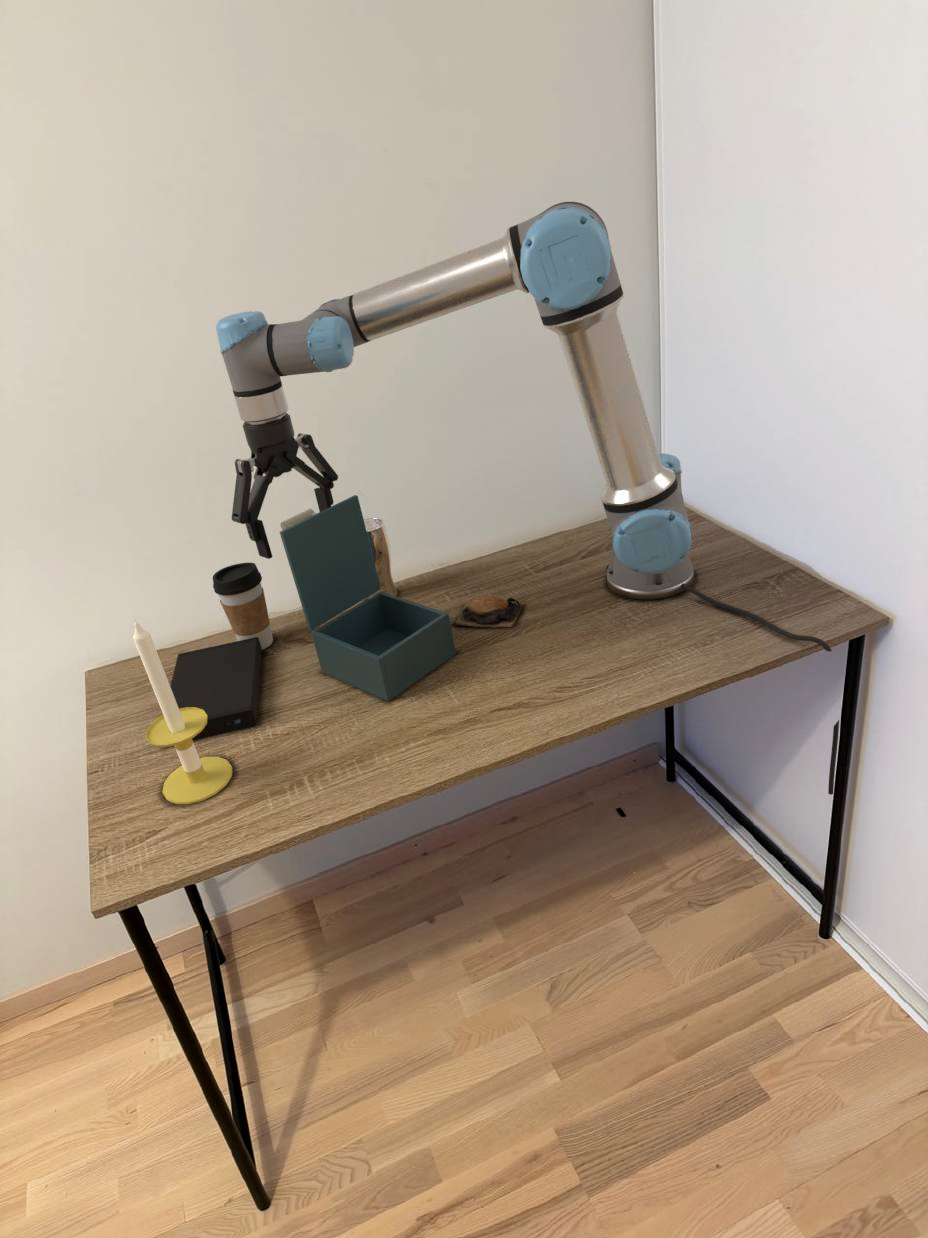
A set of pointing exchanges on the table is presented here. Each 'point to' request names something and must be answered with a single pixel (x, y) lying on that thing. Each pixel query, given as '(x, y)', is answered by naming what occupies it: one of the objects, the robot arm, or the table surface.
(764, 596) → the table surface
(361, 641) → the bread box
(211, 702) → the external hard drive
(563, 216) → the robot arm
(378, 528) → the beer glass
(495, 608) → the bread roll
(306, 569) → the bread box lid
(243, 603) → the coffee cup
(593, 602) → the table surface
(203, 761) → the candle
